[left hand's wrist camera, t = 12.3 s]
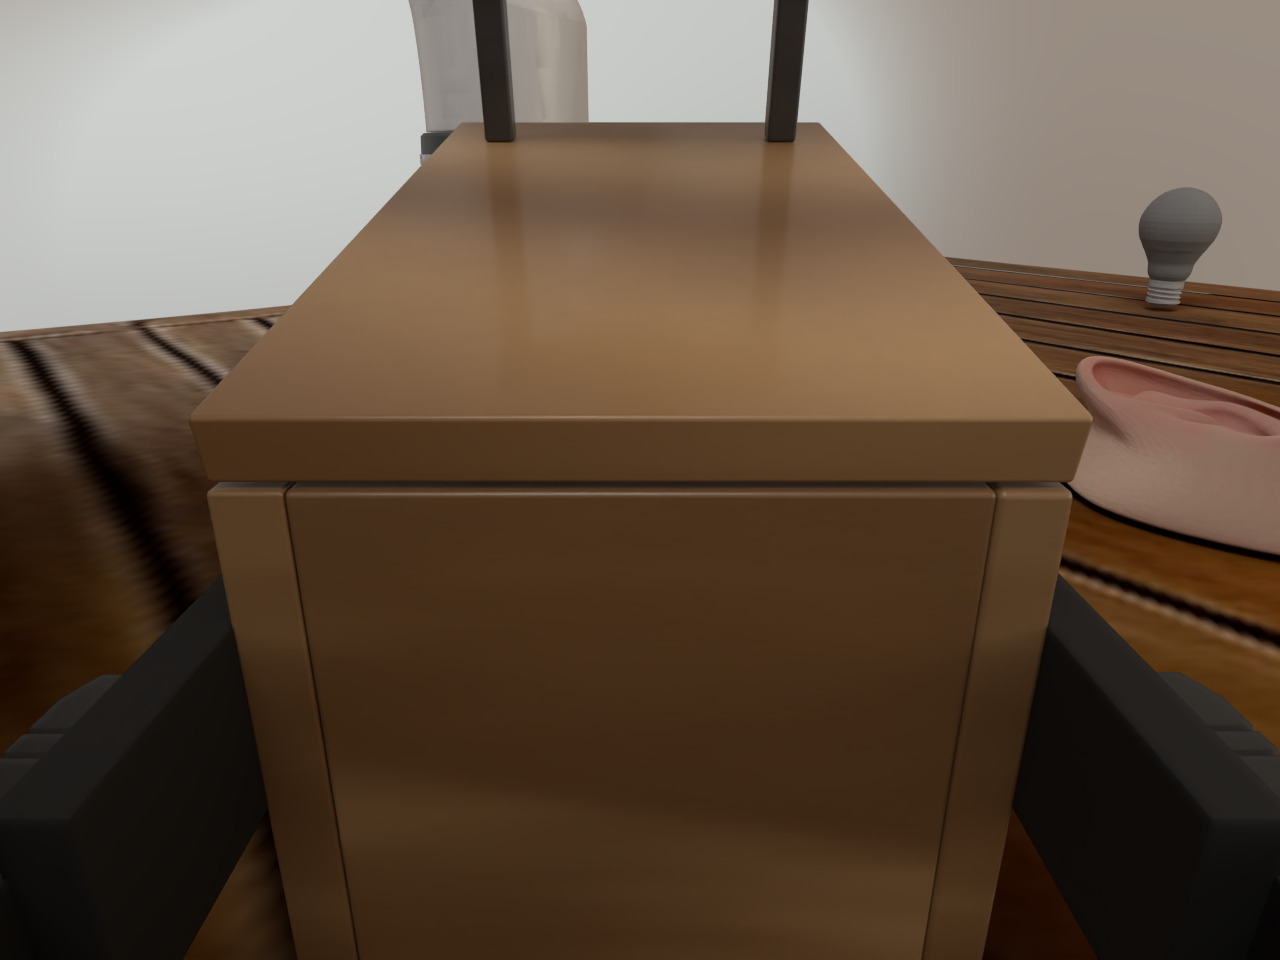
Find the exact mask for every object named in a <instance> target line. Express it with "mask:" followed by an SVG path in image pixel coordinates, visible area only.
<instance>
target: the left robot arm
mask: <svg viewBox="0 0 1280 960" xmlns="http://www.w3.org/2000/svg"><path fill="white" fill-rule="evenodd" d="M1012 807H1013V809H1014V811H1015V813H1016V814H1017V816H1018V818H1019V820H1020V822H1021V823H1022V825H1023V827H1024V829H1025V830H1026V832H1027V834H1028V836H1029V837H1030V839H1031V841H1032V843H1033V845H1034V846H1035V848H1036V850H1037V852H1038V853H1039V855H1040V857H1041V859H1042V860H1043V862H1044V864H1045V866H1046V868H1047V869H1048V871H1049V873H1050V875H1051V876H1052V878H1053V880H1054V882H1055V884H1056V885H1057V887H1058V889H1059V891H1060V892H1061V894H1062V896H1063V898H1064V899H1065V901H1066V903H1067V905H1068V907H1069V908H1070V910H1071V912H1072V914H1073V915H1074V917H1075V919H1076V921H1077V922H1078V924H1079V926H1080V928H1081V930H1082V931H1083V933H1084V935H1085V937H1086V938H1087V940H1088V942H1089V944H1090V945H1091V947H1092V949H1093V951H1094V953H1095V954H1096V956H1097V958H1098V960H1280V755H1279V753H1278V749H1277V748H1276V747H1275V746H1274V745H1273V744H1272V743H1271V742H1270V741H1269V740H1268V739H1267V738H1266V737H1265V736H1264V735H1262V734H1261V733H1260V732H1259V731H1254V730H1253V725H1252V724H1251V723H1250V722H1249V721H1248V720H1247V719H1245V718H1244V717H1243V716H1242V715H1241V714H1240V713H1239V712H1238V711H1237V710H1236V709H1235V708H1234V707H1233V706H1232V705H1231V704H1230V703H1228V702H1227V701H1226V700H1225V699H1224V698H1223V697H1222V696H1220V695H1218V694H1217V693H1215V692H1213V691H1212V690H1210V689H1208V688H1206V687H1205V686H1203V685H1201V684H1199V683H1198V682H1196V681H1194V680H1192V679H1191V678H1189V677H1187V676H1186V675H1184V674H1182V673H1180V672H1155V671H1154V670H1153V669H1152V668H1151V667H1150V666H1149V665H1148V664H1147V663H1146V662H1145V661H1144V660H1143V659H1142V658H1141V657H1140V656H1139V655H1138V654H1137V653H1136V652H1135V651H1134V650H1133V649H1132V647H1131V646H1130V645H1129V644H1128V643H1127V642H1126V641H1125V640H1124V639H1123V638H1122V637H1121V636H1120V635H1119V634H1118V633H1117V632H1116V631H1115V630H1114V629H1113V628H1112V627H1111V626H1110V625H1109V624H1108V623H1107V622H1106V621H1105V620H1104V619H1103V618H1102V617H1101V616H1100V615H1099V614H1098V613H1097V612H1096V611H1095V610H1094V609H1093V608H1092V607H1091V606H1090V605H1089V604H1088V603H1087V602H1086V601H1085V600H1084V599H1083V598H1082V597H1081V596H1080V595H1079V594H1078V593H1077V592H1076V591H1075V590H1074V589H1073V588H1072V587H1071V586H1070V585H1069V584H1068V583H1067V582H1066V581H1065V580H1064V578H1063V577H1062V576H1061V575H1060V574H1059V573H1058V576H1057V581H1056V586H1055V591H1054V596H1053V601H1052V606H1051V612H1050V617H1049V622H1048V627H1047V632H1046V637H1045V642H1044V647H1043V652H1042V657H1041V662H1040V667H1039V672H1038V678H1037V683H1036V688H1035V693H1034V698H1033V703H1032V708H1031V713H1030V718H1029V723H1028V728H1027V733H1026V738H1025V744H1024V749H1023V754H1022V759H1021V764H1020V769H1019V774H1018V779H1017V784H1016V789H1015V794H1014V799H1013V805H1012ZM267 809H268V805H267V800H266V795H265V790H264V785H263V779H262V774H261V769H260V764H259V759H258V754H257V749H256V744H255V739H254V734H253V729H252V723H251V718H250V713H249V708H248V703H247V698H246V693H245V688H244V683H243V678H242V673H241V667H240V662H239V657H238V652H237V647H236V642H235V637H234V632H233V627H232V623H231V617H230V612H229V607H228V602H227V597H226V592H225V587H224V582H223V577H222V574H221V575H220V576H219V577H218V579H217V580H216V581H215V582H214V583H213V584H212V585H211V586H210V587H209V588H208V589H207V590H206V591H205V592H204V593H203V594H202V595H201V596H200V597H199V598H198V599H197V600H196V601H195V602H194V603H193V604H192V605H191V606H190V607H189V608H188V609H187V610H186V611H185V612H184V613H183V614H182V615H181V616H180V617H179V618H178V619H177V620H176V621H175V622H174V623H173V624H172V625H171V626H170V627H169V628H168V629H167V630H166V631H165V632H164V633H163V634H162V635H161V636H160V637H159V638H158V639H157V640H156V641H155V642H154V643H153V644H152V645H151V647H150V648H149V649H148V650H147V651H146V652H145V653H144V654H143V655H142V656H141V657H140V658H139V659H138V660H137V661H136V662H135V663H134V664H133V665H132V666H131V667H130V668H129V669H128V670H127V671H126V672H125V673H124V674H123V675H101V676H99V677H97V678H96V679H94V680H92V681H91V682H89V683H87V684H85V685H84V686H82V687H80V688H79V689H77V690H75V691H73V692H72V693H70V694H68V695H66V696H65V697H63V698H61V699H60V700H59V701H58V702H56V703H55V704H54V705H53V706H52V707H51V708H50V709H49V710H48V711H47V712H46V713H45V714H44V715H43V716H42V717H41V718H40V719H39V720H38V721H36V722H35V723H34V724H33V725H32V726H31V727H30V728H29V733H28V734H23V735H22V736H21V737H20V738H19V739H17V740H16V741H15V742H14V743H13V744H12V745H11V746H10V747H9V748H8V749H7V750H6V751H5V752H4V756H3V758H2V759H0V960H183V958H184V956H185V954H186V952H187V951H188V949H189V947H190V945H191V944H192V942H193V940H194V938H195V937H196V935H197V933H198V931H199V929H200V928H201V926H202V924H203V922H204V921H205V919H206V917H207V915H208V914H209V912H210V910H211V908H212V906H213V905H214V903H215V901H216V899H217V898H218V896H219V894H220V892H221V891H222V889H223V887H224V885H225V883H226V882H227V880H228V878H229V876H230V875H231V873H232V871H233V869H234V867H235V866H236V864H237V862H238V860H239V859H240V857H241V855H242V853H243V852H244V850H245V848H246V846H247V844H248V843H249V841H250V839H251V837H252V836H253V834H254V832H255V830H256V829H257V827H258V825H259V823H260V821H261V820H262V818H263V816H264V814H265V813H266V811H267Z"/></svg>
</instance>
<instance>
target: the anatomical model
mask: <svg viewBox="0 0 1280 960" xmlns="http://www.w3.org/2000/svg"><path fill="white" fill-rule="evenodd" d="M1076 382H1077V386H1078V389H1079V391H1080V393H1081V395H1082V397H1083V399H1084V400H1085V402H1086V404H1087V406H1088V410H1087V411H1088V412H1089V413H1090V414H1091V415H1092V418H1093V423H1092V426H1091V429H1090V432H1089V435H1088V438H1087V441H1086V444H1085V447H1084V450H1083V453H1082V456H1081V459H1080V463H1079V466H1078V469H1077V472H1076V475H1075V478H1074V480H1073V481H1071V482H1067V483H1068V485H1069V486H1070V487H1071V488H1072V489H1073V490H1074V491H1076V492H1077V493H1078V494H1079V495H1081V496H1082V497H1083V498H1085V499H1086V500H1088V501H1090V502H1091V503H1093V504H1095V505H1097V506H1099V507H1101V508H1103V509H1105V510H1107V511H1110V512H1113V513H1115V514H1118V515H1120V516H1123V517H1126V518H1129V519H1132V520H1135V521H1138V522H1141V523H1144V524H1147V525H1151V526H1154V527H1157V528H1160V529H1164V530H1168V531H1172V532H1176V533H1179V534H1183V535H1187V536H1191V537H1195V538H1200V539H1204V540H1208V541H1212V542H1216V543H1221V544H1225V545H1230V546H1234V547H1239V548H1243V549H1248V550H1253V551H1258V552H1263V553H1268V554H1274V555H1279V556H1280V408H1279V407H1276V406H1273V405H1271V404H1268V403H1265V402H1262V401H1259V400H1257V399H1254V398H1251V397H1248V396H1245V395H1242V394H1239V393H1236V392H1233V391H1229V390H1226V389H1223V388H1219V387H1216V386H1212V385H1209V384H1205V383H1202V382H1199V381H1195V380H1192V379H1189V378H1185V377H1182V376H1179V375H1175V374H1172V373H1169V372H1165V371H1162V370H1159V369H1155V368H1152V367H1148V366H1144V365H1141V364H1137V363H1134V362H1130V361H1126V360H1121V359H1116V358H1111V357H1103V356H1092V357H1087V358H1085V359H1083V360H1082V361H1081V362H1080V363H1079V364H1078V366H1077V369H1076Z"/></svg>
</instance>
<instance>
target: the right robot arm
mask: <svg viewBox="0 0 1280 960" xmlns="http://www.w3.org/2000/svg"><path fill="white" fill-rule="evenodd" d="M506 2H507V16H508V30H509V43H510V57H511V70H512V84H513V98H514V111H515V122H588V79H587V78H588V77H587V27H586V22H585V18H584V15H583V12H582V10H581V7H580V5H579V3H578V1H577V0H506ZM409 3H410V8H411V12H412V17H413V23H414V29H415V35H416V42H417V49H418V57H419V64H420V71H421V81H422V90H423V99H424V109H425V119H426V131H427V132H433V133H424V134H423V135H422V136H421V154H420V162H421V165H422V164H423V163H424V162H425V161H426V160H427V159H428V158H429V157H430V156H431V155H432V154H433V153H434V152H435V150H436V149H437V148H438V147H439V146H440V145H441V144H442V143H443V142H444V141H445V140H446V139H447V138H448V136H449V135H450V134H451V133H452V132H453V131H454V130H455V129H456V128H457V127H458V126H459V125H460V124H461V123H462V122H483V112H482V101H481V90H480V79H479V68H478V58H477V47H476V36H475V25H474V14H473V3H472V0H409Z"/></svg>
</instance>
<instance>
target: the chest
mask: <svg viewBox="0 0 1280 960" xmlns="http://www.w3.org/2000/svg"><path fill="white" fill-rule="evenodd" d="M207 500H208V505H209V510H210V515H211V521H212V526H213V531H214V536H215V541H216V546H217V551H218V556H219V561H220V566H221V572H222V577H223V582H224V587H225V592H226V597H227V602H228V607H229V612H230V617H231V623H232V627H233V632H234V637H235V642H236V647H237V652H238V657H239V662H240V667H241V673H242V678H243V683H244V688H245V693H246V698H247V703H248V708H249V713H250V718H251V723H252V729H253V734H254V739H255V744H256V749H257V754H258V759H259V764H260V769H261V774H262V779H263V785H264V790H265V795H266V800H267V805H268V811H269V816H270V821H271V827H272V832H273V837H274V842H275V847H276V852H277V857H278V862H279V867H280V872H281V878H282V883H283V888H284V893H285V898H286V903H287V908H288V913H289V918H290V923H291V929H292V934H293V939H294V944H295V949H296V954H297V959H298V960H982V957H983V952H984V947H985V942H986V937H987V931H988V926H989V921H990V916H991V911H992V906H993V901H994V896H995V891H996V886H997V881H998V876H999V871H1000V865H1001V860H1002V855H1003V850H1004V845H1005V840H1006V835H1007V830H1008V825H1009V820H1010V815H1011V810H1012V805H1013V799H1014V794H1015V789H1016V784H1017V779H1018V774H1019V769H1020V764H1021V759H1022V754H1023V749H1024V744H1025V738H1026V733H1027V728H1028V723H1029V718H1030V713H1031V708H1032V703H1033V698H1034V693H1035V688H1036V683H1037V678H1038V672H1039V667H1040V662H1041V657H1042V652H1043V647H1044V642H1045V637H1046V632H1047V627H1048V622H1049V617H1050V612H1051V606H1052V601H1053V596H1054V591H1055V586H1056V581H1057V576H1058V571H1059V566H1060V561H1061V556H1062V551H1063V546H1064V540H1065V535H1066V530H1067V525H1068V520H1069V515H1070V510H1071V505H1072V500H1073V499H1072V494H1071V491H1069V490H1068V489H1067V488H1065V487H1064V486H1063V485H1062V484H1060V483H1059V482H220V483H218V484H217V485H216V486H215V487H213V488H212V489H211V490H210V491H208V493H207Z"/></svg>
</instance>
